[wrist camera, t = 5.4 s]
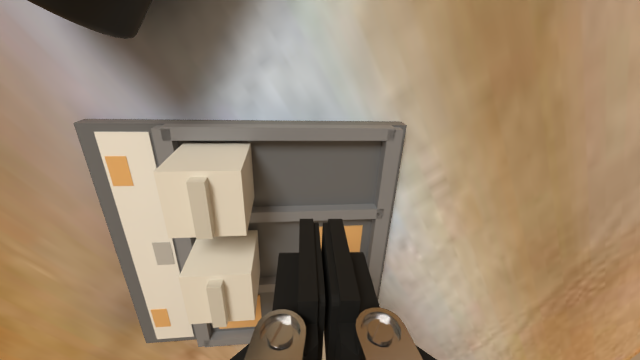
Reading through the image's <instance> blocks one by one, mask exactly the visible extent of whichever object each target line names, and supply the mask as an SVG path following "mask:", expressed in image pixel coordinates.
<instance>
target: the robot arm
mask: <svg viewBox="0 0 640 360" xmlns="http://www.w3.org/2000/svg"><path fill="white" fill-rule="evenodd" d="M323 336H324V341H325V354H326V360H436V359H435V358H433V357H432V356H430V355H429V354H427V353H426V352H425V351H423V350H422V349H420V348H419V347H417V346H416V345H415V344H414V342H413V340H412V338H411V336H410V334H409V332H408V330H407V328H406V327H405V325H404V323H403V322H402V320H401V319H400V318H399V317H398V316H397V315H396V314H394V313H393V312H391V311H389V310H387V309H383V308H380V307H379V303H378V300H377V296H376V293H375V290H374V286H373V283H372V279H371V276H370V272H369V269H368V265H367V262H366V259H365V255H364V253H363V252H350V251H349V246H348V242H347V238H346V233H345V229H344V224H343V220H342V219H328V222H323V227H322V248H321V242H320V231H319V222H313V219H300V224H299V253H279V256H278V265H277V274H276V282H275V291H274V300H273V308H272V311H271V312H269V313H267V314H266V315H264V316H263V317H262V318H261V319H260V320H259V321H258V323H257V325H256V327H255V329H254V332H253V335H252V338H251V341H250V344H248V345H247V346H246V347H245V348H244V349H242V350H241V351H240V352H239V353H237V354H236V355H235V356H234V357H233V358H231V359H230V360H322V353H323Z"/></svg>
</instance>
